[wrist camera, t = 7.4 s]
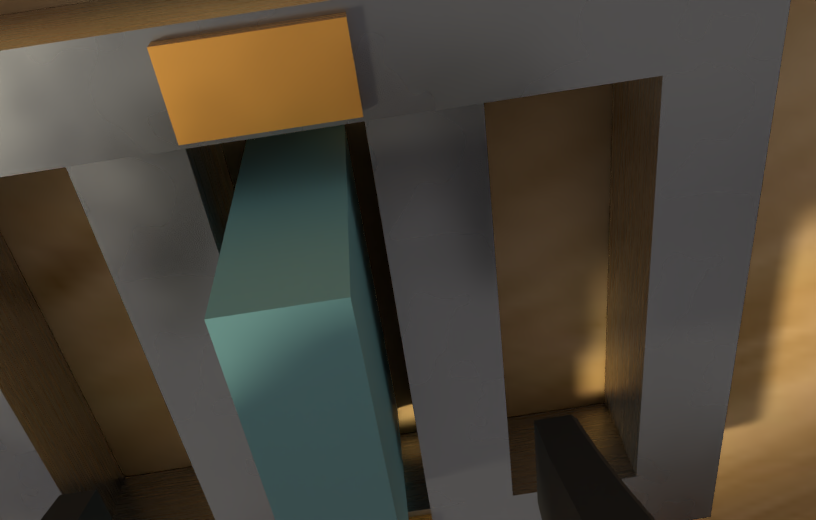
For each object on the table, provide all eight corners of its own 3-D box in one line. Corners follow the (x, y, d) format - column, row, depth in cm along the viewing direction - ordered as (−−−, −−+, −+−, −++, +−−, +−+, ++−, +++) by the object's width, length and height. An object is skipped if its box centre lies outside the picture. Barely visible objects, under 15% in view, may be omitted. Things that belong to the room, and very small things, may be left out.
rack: (672, 443, 21) (715, 526, 19) (77, 535, 21) (46, 630, 19) (727, -96, 13) (812, -69, 11) (-213, 48, 13) (-329, 105, 11)
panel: (397, 406, 19) (419, 624, 14) (321, 418, 19) (317, 640, 14) (344, 123, 15) (350, 296, 10) (246, 138, 15) (204, 319, 10)
